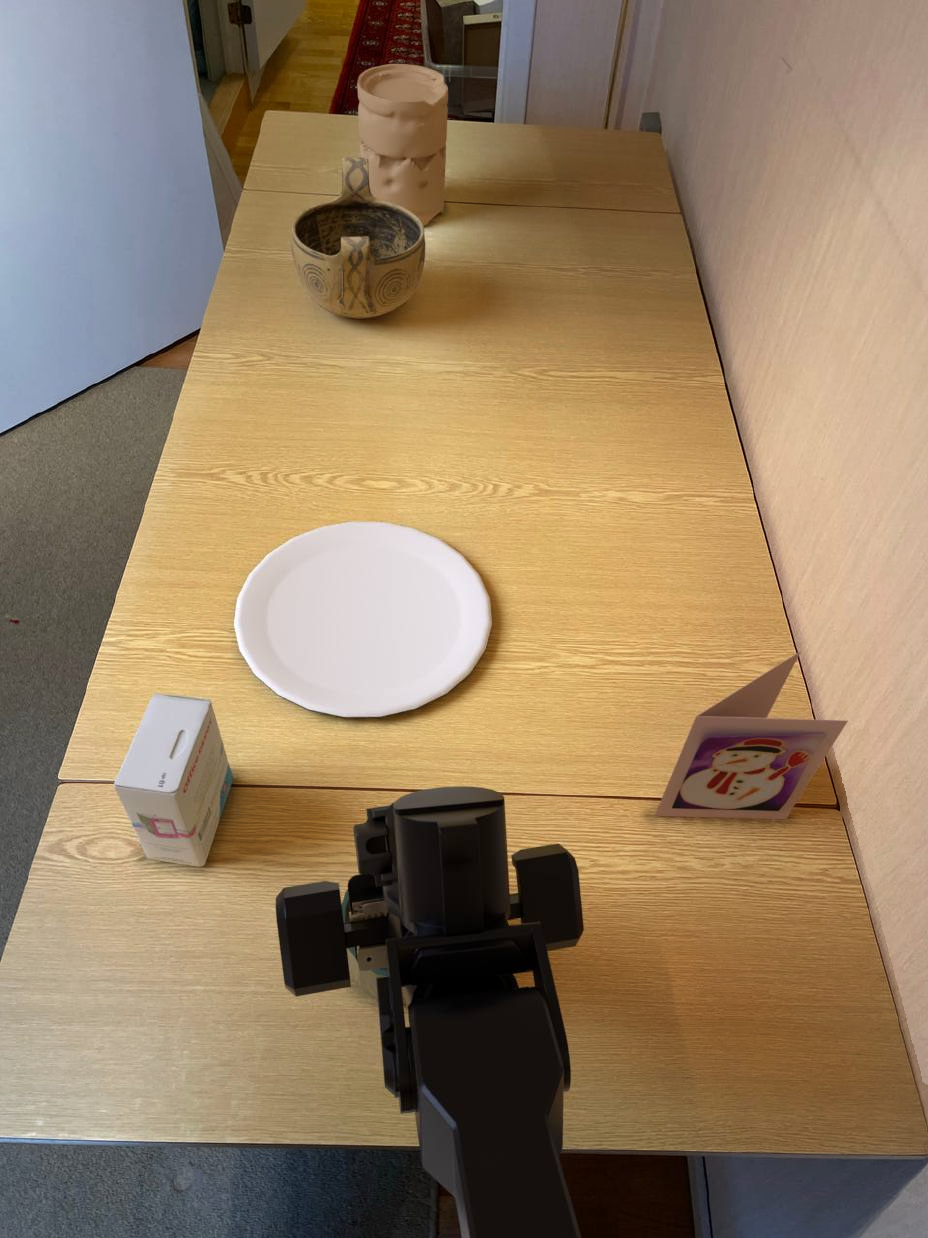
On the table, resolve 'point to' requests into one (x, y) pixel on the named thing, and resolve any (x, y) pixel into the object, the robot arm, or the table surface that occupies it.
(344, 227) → the ceramic bowl
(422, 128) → the container
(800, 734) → the greeting card
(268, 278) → the table surface
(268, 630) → the plate
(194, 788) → the ink box
